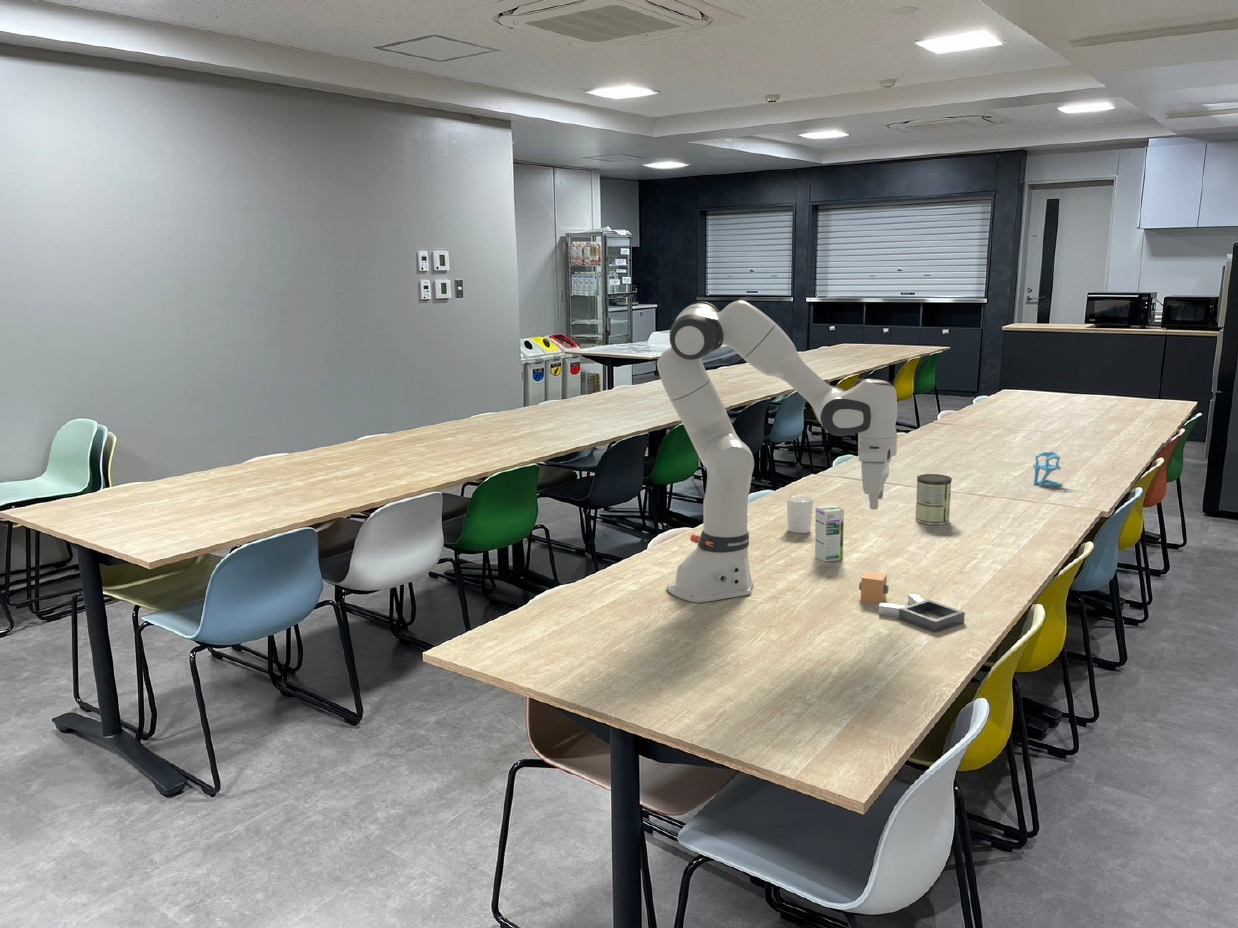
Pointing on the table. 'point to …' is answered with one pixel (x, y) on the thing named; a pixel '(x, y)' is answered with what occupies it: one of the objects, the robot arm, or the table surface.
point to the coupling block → (873, 587)
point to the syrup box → (829, 533)
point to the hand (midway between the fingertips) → (876, 503)
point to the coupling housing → (921, 606)
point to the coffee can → (933, 499)
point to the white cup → (799, 513)
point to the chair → (1046, 469)
